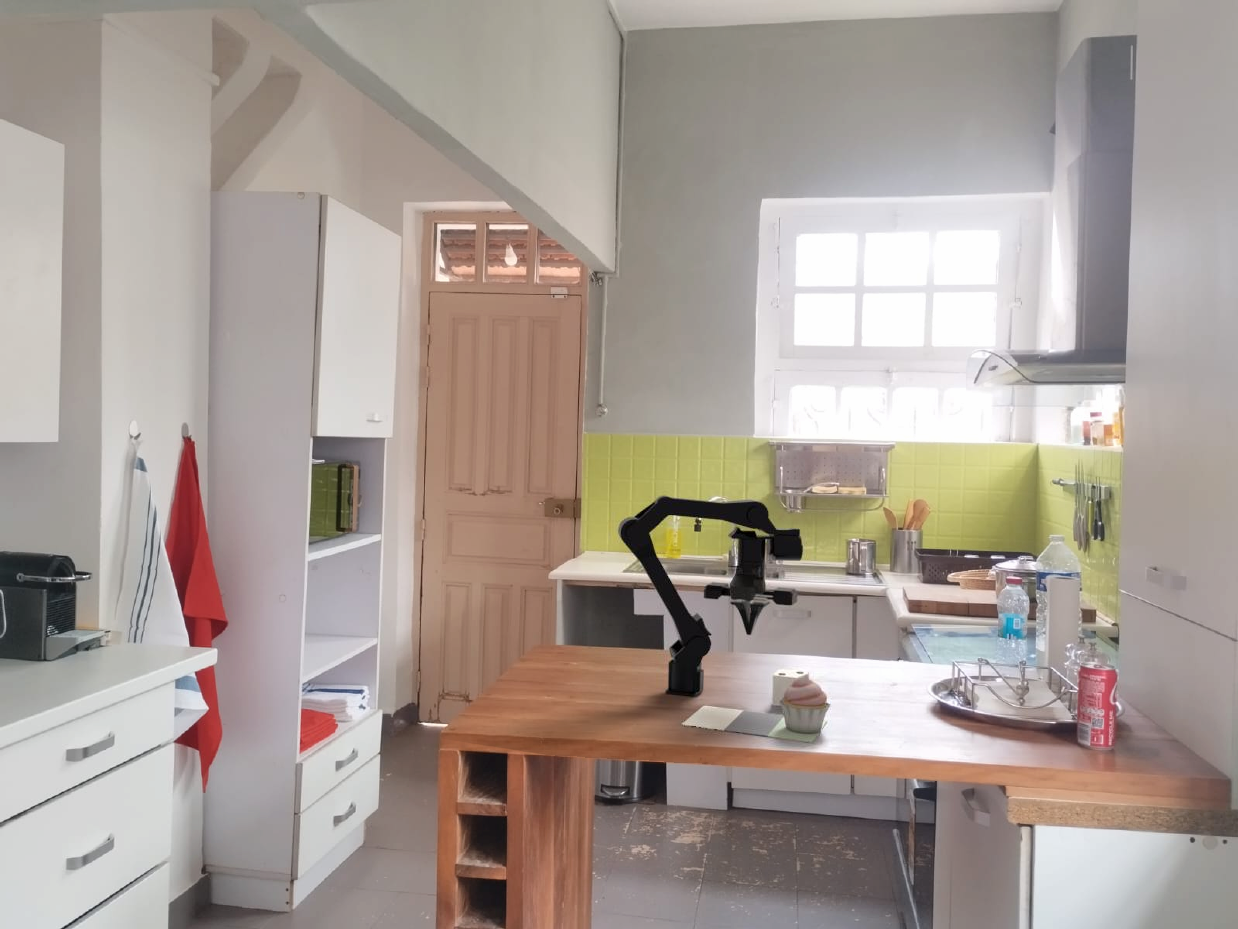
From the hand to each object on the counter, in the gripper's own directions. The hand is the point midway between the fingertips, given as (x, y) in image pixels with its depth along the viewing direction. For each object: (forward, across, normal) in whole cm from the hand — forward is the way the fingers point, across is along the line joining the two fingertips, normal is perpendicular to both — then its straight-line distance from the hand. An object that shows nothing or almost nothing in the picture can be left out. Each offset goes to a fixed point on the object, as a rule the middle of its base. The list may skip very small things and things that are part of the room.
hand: (749, 634), depth 204 cm
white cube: (+12, +10, -5) cm, 16 cm away
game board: (+12, +7, -22) cm, 26 cm away
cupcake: (+12, +16, -22) cm, 30 cm away
